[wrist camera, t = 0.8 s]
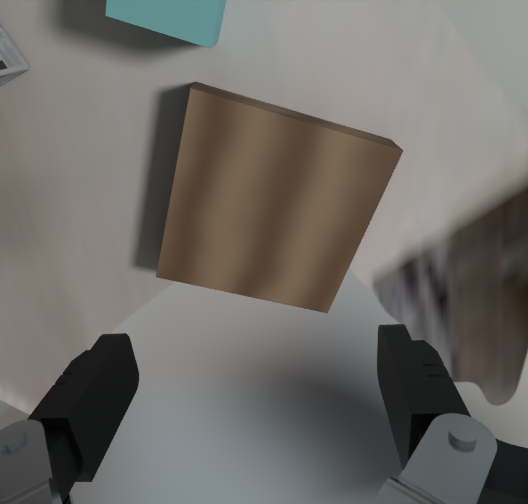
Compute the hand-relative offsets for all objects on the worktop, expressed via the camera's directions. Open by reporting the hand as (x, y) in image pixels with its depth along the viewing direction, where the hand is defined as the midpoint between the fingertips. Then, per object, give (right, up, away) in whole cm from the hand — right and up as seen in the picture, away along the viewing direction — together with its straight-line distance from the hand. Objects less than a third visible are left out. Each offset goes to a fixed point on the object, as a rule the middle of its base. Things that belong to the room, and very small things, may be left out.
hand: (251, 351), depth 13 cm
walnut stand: (+1, +7, +22) cm, 23 cm away
